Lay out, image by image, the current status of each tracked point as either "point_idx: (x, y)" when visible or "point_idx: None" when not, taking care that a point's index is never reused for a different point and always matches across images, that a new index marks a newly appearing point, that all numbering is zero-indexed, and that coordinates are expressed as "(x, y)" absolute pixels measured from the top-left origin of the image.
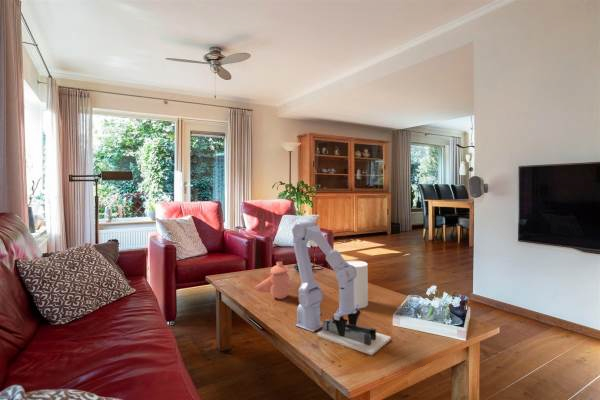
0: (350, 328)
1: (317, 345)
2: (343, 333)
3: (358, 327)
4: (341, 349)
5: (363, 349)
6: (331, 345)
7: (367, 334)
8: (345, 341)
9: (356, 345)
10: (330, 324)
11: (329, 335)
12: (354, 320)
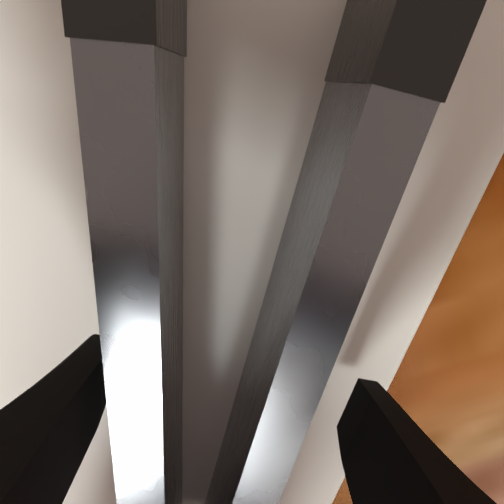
0: (170, 390)
1: None
2: (407, 417)
3: (160, 303)
4: (491, 307)
5: None
6: (432, 403)
7: (425, 30)
8: (379, 327)
9: (447, 185)
10: None
11: (303, 481)
12: (47, 455)
